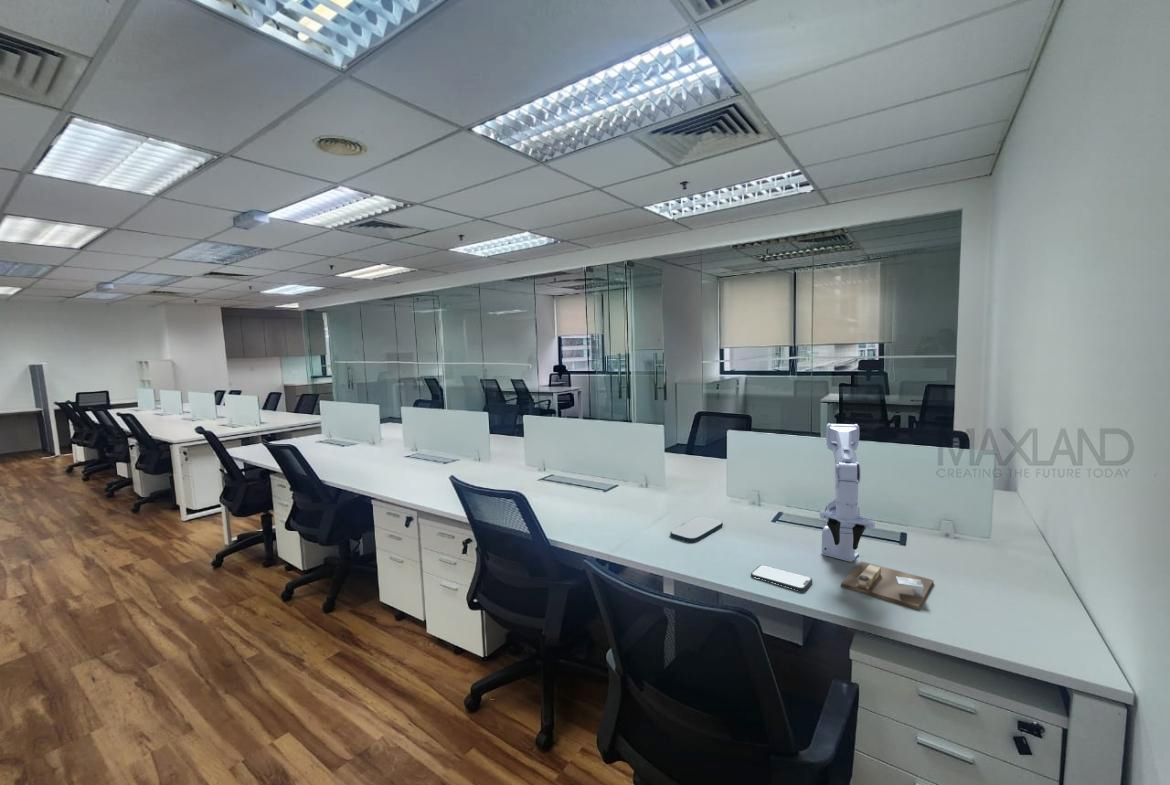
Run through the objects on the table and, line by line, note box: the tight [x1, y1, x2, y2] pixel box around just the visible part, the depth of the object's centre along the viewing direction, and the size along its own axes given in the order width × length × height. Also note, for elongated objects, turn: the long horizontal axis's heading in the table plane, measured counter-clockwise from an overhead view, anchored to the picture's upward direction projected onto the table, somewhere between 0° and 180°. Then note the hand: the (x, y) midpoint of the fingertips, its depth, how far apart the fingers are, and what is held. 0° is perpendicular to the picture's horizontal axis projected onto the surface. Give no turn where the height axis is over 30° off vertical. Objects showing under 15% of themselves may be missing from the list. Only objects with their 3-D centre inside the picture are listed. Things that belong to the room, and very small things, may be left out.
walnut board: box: [840, 560, 934, 611], centre depth 141 cm, size 19×19×1 cm
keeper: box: [896, 576, 924, 598], centre depth 134 cm, size 6×4×4 cm
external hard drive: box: [670, 515, 724, 543], centre depth 187 cm, size 24×12×2 cm, turn 136°
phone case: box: [750, 564, 813, 592], centre depth 147 cm, size 9×2×16 cm
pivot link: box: [856, 563, 881, 589], centre depth 142 cm, size 13×4×3 cm, turn 135°
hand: (846, 546), depth 147 cm, fingers open, 4 cm apart
